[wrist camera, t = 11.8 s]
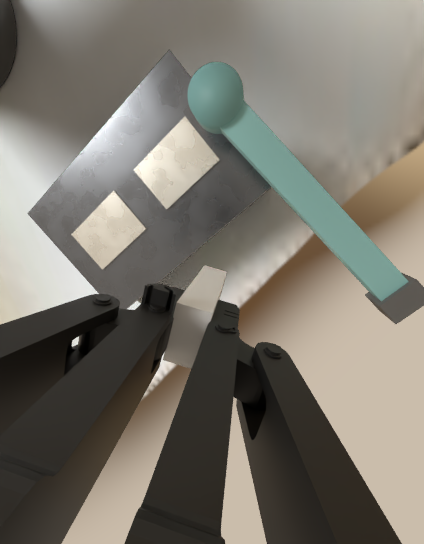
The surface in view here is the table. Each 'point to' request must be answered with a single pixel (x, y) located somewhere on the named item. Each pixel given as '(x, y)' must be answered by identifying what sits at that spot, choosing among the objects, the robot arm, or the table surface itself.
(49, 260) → the table surface
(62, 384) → the robot arm
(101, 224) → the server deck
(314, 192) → the green knobbed rod
